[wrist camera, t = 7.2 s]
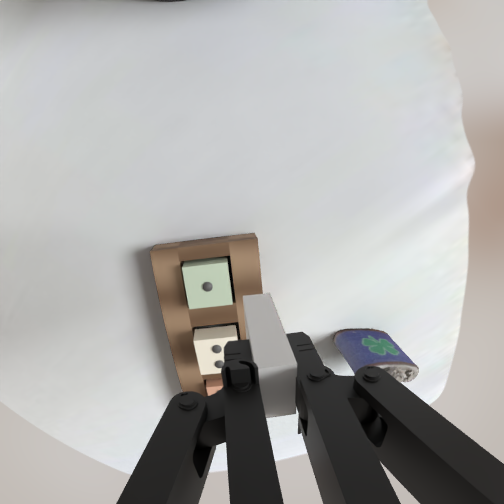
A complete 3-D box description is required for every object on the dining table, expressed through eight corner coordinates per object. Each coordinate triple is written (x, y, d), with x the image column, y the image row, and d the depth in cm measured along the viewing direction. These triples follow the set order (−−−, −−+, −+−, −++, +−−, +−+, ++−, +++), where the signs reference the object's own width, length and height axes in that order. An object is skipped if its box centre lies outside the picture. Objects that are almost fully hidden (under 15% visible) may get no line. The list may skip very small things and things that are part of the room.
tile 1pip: (184, 260, 31) (181, 268, 29) (226, 255, 32) (227, 262, 29) (191, 299, 33) (189, 309, 30) (231, 295, 33) (232, 304, 30)
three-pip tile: (206, 375, 35) (206, 388, 33) (242, 371, 36) (243, 384, 33) (212, 400, 36) (212, 413, 34) (246, 396, 37) (247, 409, 34)
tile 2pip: (194, 329, 32) (193, 341, 29) (235, 324, 32) (236, 336, 30) (201, 362, 33) (200, 375, 31) (240, 358, 33) (241, 371, 31)
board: (155, 244, 32) (149, 251, 29) (254, 233, 33) (257, 238, 30) (192, 403, 38) (190, 417, 35) (269, 395, 39) (272, 409, 36)
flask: (330, 344, 38) (361, 393, 28) (336, 325, 37) (372, 371, 27) (384, 347, 39) (422, 389, 29) (392, 330, 39) (433, 369, 28)
